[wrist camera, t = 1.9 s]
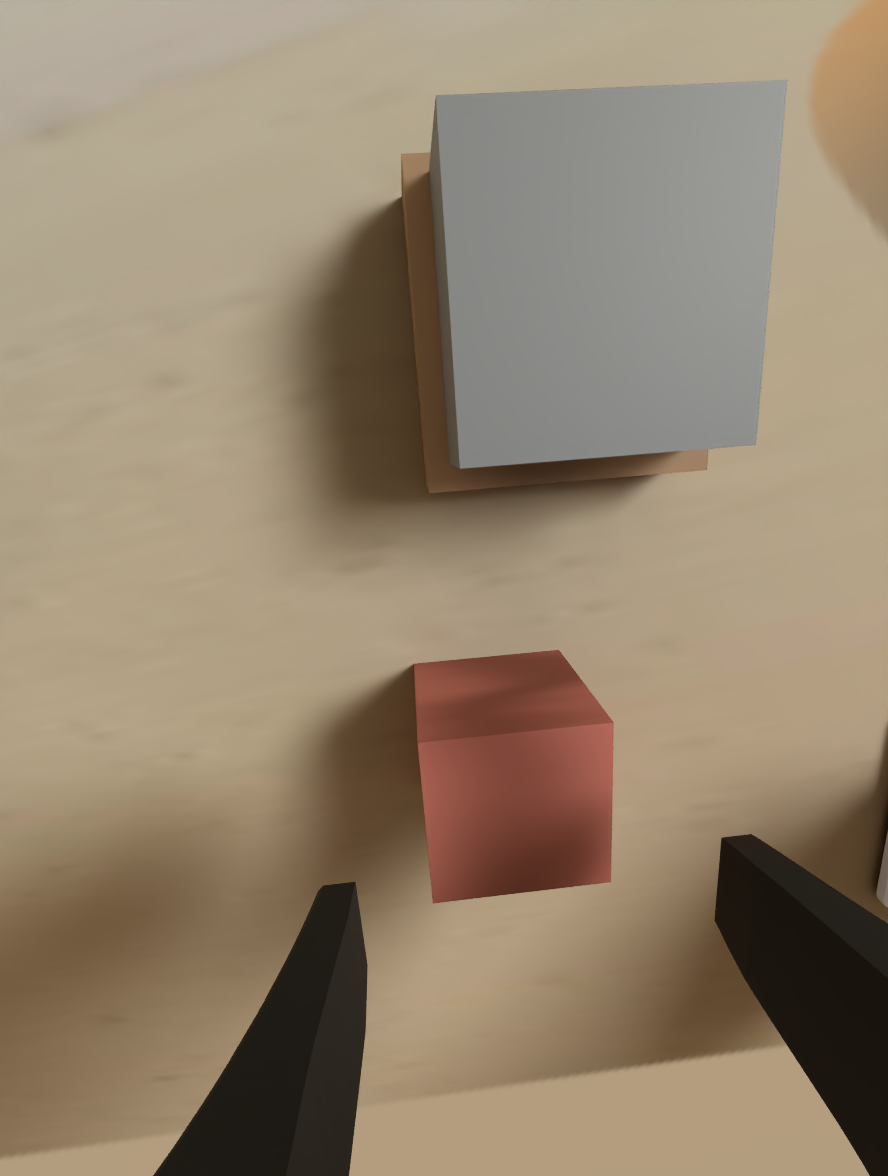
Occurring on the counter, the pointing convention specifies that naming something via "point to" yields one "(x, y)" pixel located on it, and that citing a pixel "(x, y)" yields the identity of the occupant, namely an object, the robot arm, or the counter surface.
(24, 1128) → the counter surface
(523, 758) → the cube
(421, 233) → the walnut block
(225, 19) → the counter surface
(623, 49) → the counter surface
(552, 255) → the slate block
